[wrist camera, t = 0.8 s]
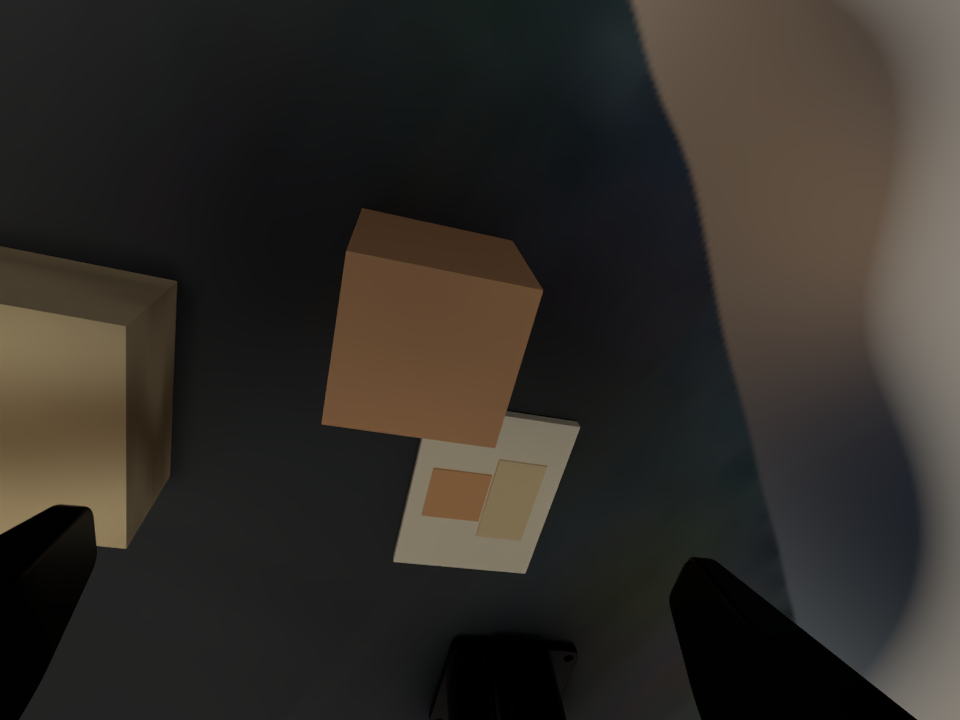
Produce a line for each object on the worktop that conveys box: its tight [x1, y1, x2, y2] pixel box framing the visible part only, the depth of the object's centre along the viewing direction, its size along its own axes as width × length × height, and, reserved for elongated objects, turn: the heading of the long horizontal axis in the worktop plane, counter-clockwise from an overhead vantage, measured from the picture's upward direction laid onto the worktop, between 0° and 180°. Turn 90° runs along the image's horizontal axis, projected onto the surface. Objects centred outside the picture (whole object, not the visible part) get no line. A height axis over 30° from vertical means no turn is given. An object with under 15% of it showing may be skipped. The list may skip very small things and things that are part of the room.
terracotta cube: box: [322, 208, 543, 448], centre depth 17 cm, size 5×5×5 cm
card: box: [393, 411, 580, 574], centre depth 23 cm, size 8×6×1 cm
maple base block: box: [0, 246, 177, 549], centre depth 17 cm, size 8×8×4 cm
